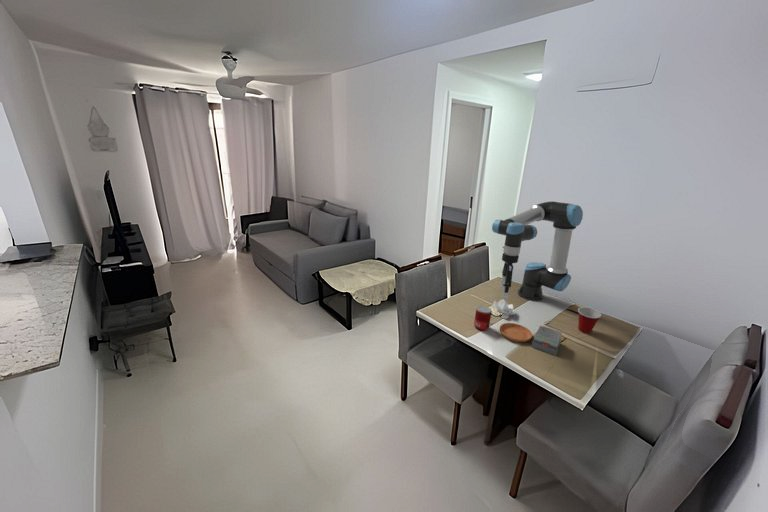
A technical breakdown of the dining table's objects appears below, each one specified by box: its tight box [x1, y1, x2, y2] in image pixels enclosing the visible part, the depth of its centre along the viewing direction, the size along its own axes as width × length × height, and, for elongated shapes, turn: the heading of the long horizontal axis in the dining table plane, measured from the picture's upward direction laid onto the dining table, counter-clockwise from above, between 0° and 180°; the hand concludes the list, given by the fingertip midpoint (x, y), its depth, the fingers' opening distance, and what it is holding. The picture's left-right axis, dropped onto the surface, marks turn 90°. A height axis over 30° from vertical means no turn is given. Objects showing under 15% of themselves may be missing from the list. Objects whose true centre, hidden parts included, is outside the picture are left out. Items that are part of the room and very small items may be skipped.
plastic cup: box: [577, 306, 602, 334], centre depth 165 cm, size 11×11×12 cm
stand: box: [531, 325, 563, 356], centre depth 151 cm, size 13×11×7 cm
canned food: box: [473, 305, 492, 331], centre depth 166 cm, size 8×8×11 cm
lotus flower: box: [489, 298, 516, 320], centre depth 181 cm, size 14×15×9 cm
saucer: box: [499, 322, 533, 343], centre depth 160 cm, size 16×16×3 cm
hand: (503, 292), depth 158 cm, fingers open, 13 cm apart
